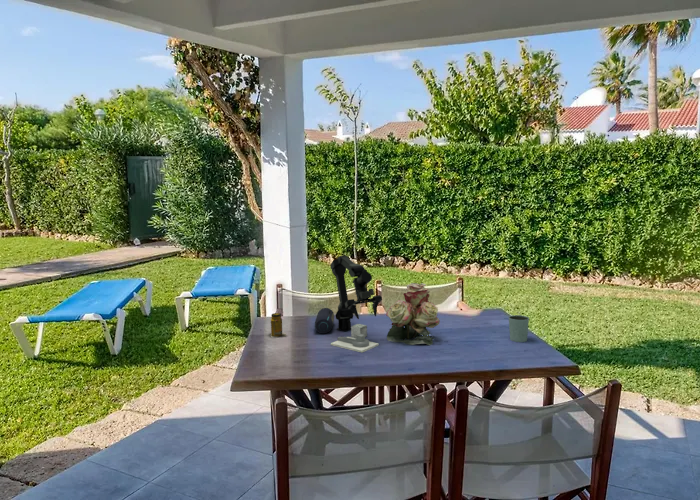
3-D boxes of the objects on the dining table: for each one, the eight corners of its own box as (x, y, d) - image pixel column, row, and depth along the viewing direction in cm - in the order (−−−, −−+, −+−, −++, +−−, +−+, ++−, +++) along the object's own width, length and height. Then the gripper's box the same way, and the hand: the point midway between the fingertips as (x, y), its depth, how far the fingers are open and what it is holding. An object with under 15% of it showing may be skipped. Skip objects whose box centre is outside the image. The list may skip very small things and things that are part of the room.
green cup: (529, 343, 274) (530, 320, 272) (508, 342, 276) (509, 319, 274) (526, 337, 284) (527, 315, 282) (507, 336, 286) (507, 314, 284)
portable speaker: (332, 335, 292) (332, 317, 291) (314, 335, 292) (313, 317, 291) (334, 322, 317) (334, 306, 315) (317, 322, 317) (317, 306, 316)
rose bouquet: (381, 343, 277) (381, 286, 273) (403, 328, 303) (403, 276, 299) (429, 350, 265) (429, 290, 261) (447, 334, 291) (447, 280, 287)
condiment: (270, 334, 295) (269, 312, 293) (285, 332, 297) (284, 311, 295) (271, 338, 288) (270, 316, 286) (287, 336, 290) (286, 315, 288)
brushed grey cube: (351, 337, 288) (351, 326, 287) (358, 334, 292) (358, 323, 292) (360, 339, 284) (360, 328, 283) (366, 336, 289) (366, 325, 288)
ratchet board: (330, 345, 275) (330, 333, 274) (347, 338, 285) (347, 327, 285) (361, 352, 262) (361, 340, 261) (378, 345, 273) (378, 334, 272)
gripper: (346, 286, 268) (352, 316, 263) (381, 281, 273) (388, 310, 268) (342, 292, 279) (348, 321, 274) (376, 287, 284) (382, 316, 279)
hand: (367, 317), depth 273 cm, fingers open, 9 cm apart
